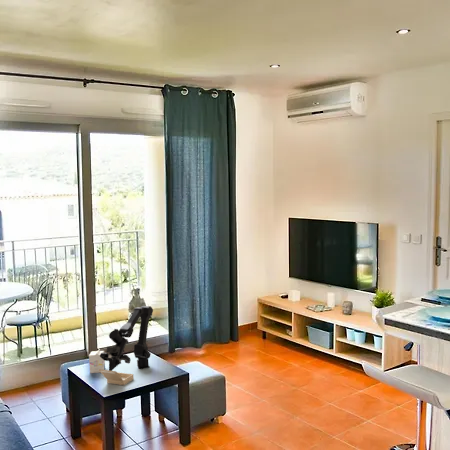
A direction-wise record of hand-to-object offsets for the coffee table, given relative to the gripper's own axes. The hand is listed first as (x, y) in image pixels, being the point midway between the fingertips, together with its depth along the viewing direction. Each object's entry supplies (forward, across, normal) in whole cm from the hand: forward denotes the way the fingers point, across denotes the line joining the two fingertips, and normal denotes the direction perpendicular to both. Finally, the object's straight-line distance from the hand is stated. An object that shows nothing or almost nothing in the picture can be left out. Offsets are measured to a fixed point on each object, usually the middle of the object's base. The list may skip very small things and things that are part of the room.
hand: (109, 371), depth 292 cm
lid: (+1, 0, +3) cm, 3 cm away
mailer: (0, 0, +13) cm, 13 cm away
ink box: (-7, -26, +21) cm, 34 cm away
